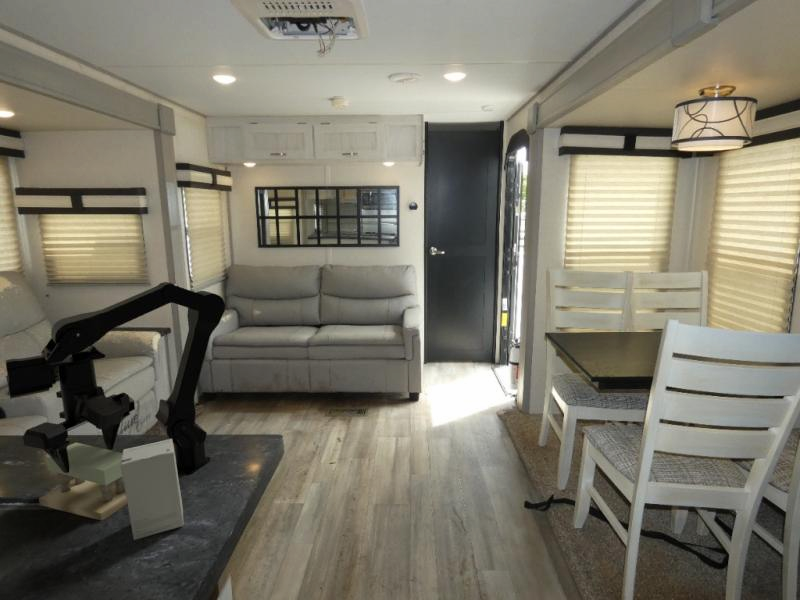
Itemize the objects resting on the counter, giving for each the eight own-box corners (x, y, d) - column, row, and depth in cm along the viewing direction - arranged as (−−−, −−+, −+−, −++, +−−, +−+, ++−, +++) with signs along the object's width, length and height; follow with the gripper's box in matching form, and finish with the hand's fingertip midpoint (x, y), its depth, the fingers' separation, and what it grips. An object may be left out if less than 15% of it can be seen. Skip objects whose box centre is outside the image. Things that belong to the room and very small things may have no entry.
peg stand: (146, 490, 97) (143, 463, 96) (102, 520, 87) (97, 490, 86) (87, 478, 102) (84, 452, 101) (40, 505, 93) (35, 476, 91)
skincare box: (182, 510, 90) (175, 436, 88) (184, 528, 85) (176, 450, 82) (132, 522, 87) (122, 446, 84) (130, 542, 81) (120, 462, 79)
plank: (47, 470, 94) (45, 456, 93) (77, 455, 99) (75, 442, 99) (105, 485, 88) (103, 470, 87) (134, 469, 93) (132, 455, 93)
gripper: (61, 408, 79) (73, 493, 82) (151, 372, 97) (159, 444, 99) (14, 400, 83) (28, 483, 86) (109, 367, 100) (118, 437, 103)
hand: (89, 460), depth 93 cm, fingers open, 9 cm apart
